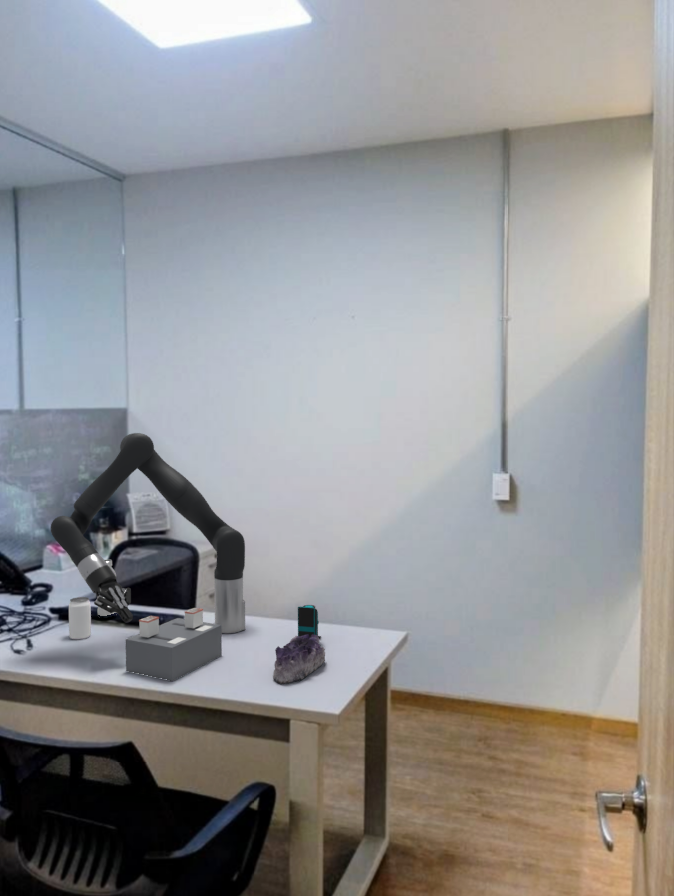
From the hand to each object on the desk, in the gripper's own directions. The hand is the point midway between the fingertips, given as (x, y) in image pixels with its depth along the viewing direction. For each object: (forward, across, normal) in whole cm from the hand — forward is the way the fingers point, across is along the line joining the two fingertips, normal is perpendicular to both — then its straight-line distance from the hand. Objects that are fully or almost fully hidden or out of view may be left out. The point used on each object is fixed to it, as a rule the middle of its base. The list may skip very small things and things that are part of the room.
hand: (129, 620), depth 197 cm
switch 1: (+7, 0, -3) cm, 8 cm away
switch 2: (+12, +12, -7) cm, 18 cm away
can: (-13, +11, +31) cm, 36 cm away
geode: (+41, +16, -23) cm, 50 cm away
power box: (+17, +6, +1) cm, 18 cm away
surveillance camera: (+35, +40, -17) cm, 55 cm away
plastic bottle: (-18, +31, +36) cm, 51 cm away
